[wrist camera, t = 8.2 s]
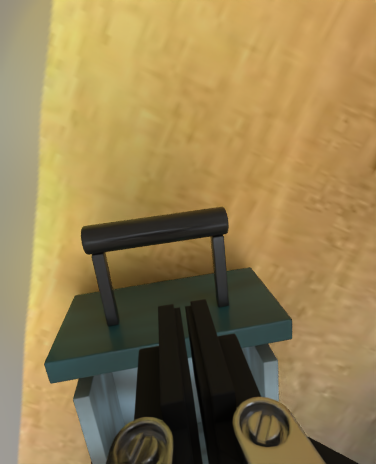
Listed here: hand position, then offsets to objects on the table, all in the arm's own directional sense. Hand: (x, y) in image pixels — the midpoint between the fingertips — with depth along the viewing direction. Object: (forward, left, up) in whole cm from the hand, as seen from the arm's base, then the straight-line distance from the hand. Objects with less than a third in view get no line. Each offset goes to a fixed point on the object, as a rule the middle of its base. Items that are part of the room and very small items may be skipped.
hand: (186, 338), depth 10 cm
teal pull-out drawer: (+4, +5, -9) cm, 11 cm away
